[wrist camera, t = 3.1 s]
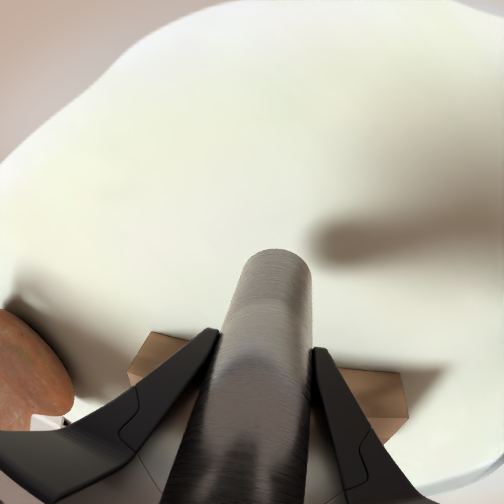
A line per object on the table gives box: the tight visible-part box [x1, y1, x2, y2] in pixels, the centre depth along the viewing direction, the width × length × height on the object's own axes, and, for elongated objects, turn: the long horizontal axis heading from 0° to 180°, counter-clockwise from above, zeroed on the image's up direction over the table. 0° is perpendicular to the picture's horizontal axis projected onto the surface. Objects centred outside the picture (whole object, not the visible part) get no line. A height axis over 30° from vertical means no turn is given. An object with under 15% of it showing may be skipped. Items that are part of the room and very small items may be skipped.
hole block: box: [127, 332, 409, 445], centre depth 19 cm, size 18×10×4 cm, turn 84°
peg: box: [159, 249, 312, 504], centre depth 8 cm, size 3×3×10 cm
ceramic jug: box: [0, 309, 75, 431], centre depth 19 cm, size 18×14×14 cm
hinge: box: [30, 414, 66, 431], centre depth 34 cm, size 17×5×10 cm, turn 95°
